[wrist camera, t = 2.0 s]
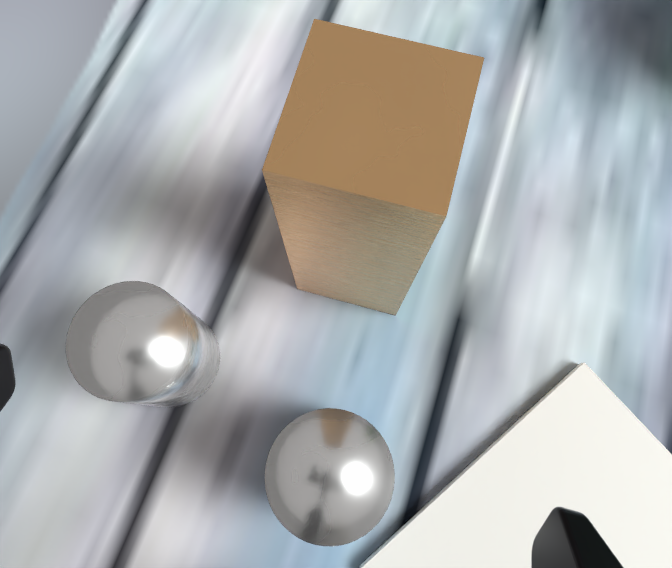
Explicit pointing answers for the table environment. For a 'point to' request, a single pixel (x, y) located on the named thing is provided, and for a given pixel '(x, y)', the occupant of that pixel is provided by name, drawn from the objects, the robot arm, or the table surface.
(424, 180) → the tan tall block
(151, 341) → the cylinder
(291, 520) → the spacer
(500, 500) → the white mat
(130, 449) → the table surface
